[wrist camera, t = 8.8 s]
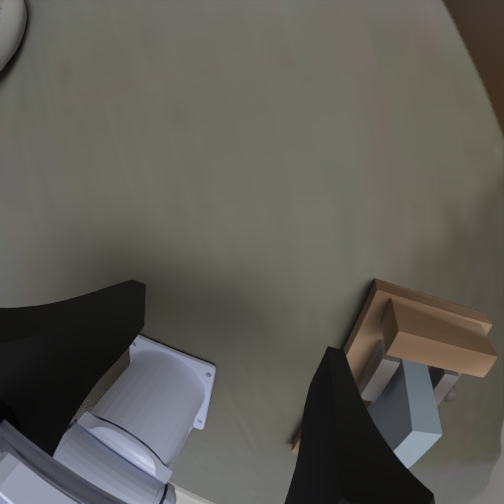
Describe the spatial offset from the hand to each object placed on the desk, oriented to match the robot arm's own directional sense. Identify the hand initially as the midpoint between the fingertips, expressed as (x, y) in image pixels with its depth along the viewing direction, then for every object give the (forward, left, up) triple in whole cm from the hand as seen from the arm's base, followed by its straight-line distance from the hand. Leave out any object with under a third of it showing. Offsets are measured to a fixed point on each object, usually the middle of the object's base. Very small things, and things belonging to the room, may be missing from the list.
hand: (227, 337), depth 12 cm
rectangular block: (-9, -11, -8) cm, 16 cm away
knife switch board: (-9, -11, -9) cm, 17 cm away
